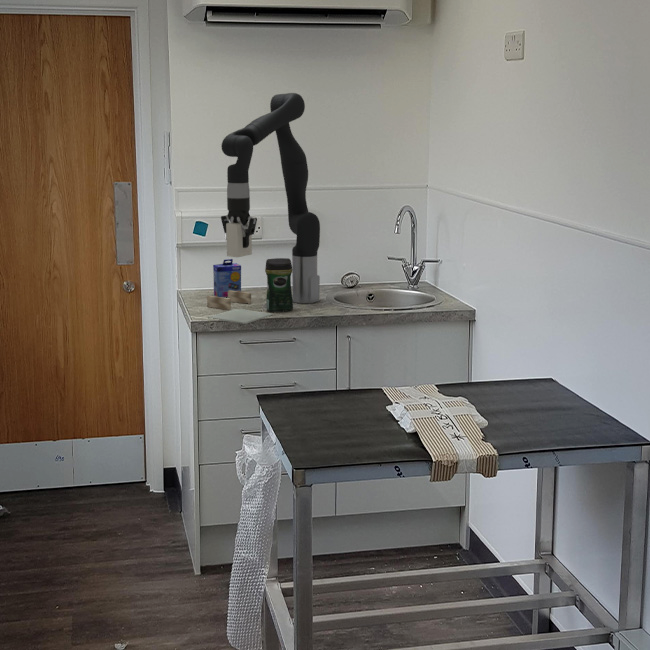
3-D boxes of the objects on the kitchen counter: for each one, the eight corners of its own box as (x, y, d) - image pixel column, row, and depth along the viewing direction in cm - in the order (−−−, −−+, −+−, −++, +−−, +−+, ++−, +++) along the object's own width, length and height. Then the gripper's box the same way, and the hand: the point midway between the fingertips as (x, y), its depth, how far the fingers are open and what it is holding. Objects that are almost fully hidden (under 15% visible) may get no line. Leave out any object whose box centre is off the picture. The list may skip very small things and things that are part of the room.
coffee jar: (291, 307, 341) (291, 256, 337) (294, 312, 333) (293, 259, 329) (264, 308, 339) (264, 256, 335) (266, 312, 332) (266, 260, 328)
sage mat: (273, 315, 328) (273, 313, 328) (245, 324, 315) (245, 322, 315) (236, 309, 336) (236, 308, 336) (207, 318, 323) (207, 316, 323)
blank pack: (251, 254, 323) (251, 222, 320) (237, 257, 316) (236, 224, 314) (241, 253, 325) (240, 221, 323) (226, 256, 319) (226, 223, 316)
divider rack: (251, 303, 347) (251, 293, 346) (229, 310, 336) (229, 299, 335) (229, 300, 352) (229, 290, 351) (207, 306, 341) (207, 296, 341)
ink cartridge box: (217, 298, 356) (216, 260, 353) (212, 296, 361) (211, 258, 358) (242, 296, 360) (241, 258, 357) (237, 294, 365) (236, 256, 362)
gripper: (262, 196, 316) (263, 247, 320) (228, 194, 323) (229, 244, 327) (248, 198, 310) (249, 250, 313) (214, 196, 317) (215, 246, 321)
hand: (239, 246), depth 320 cm, fingers closed on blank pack, 4 cm apart
